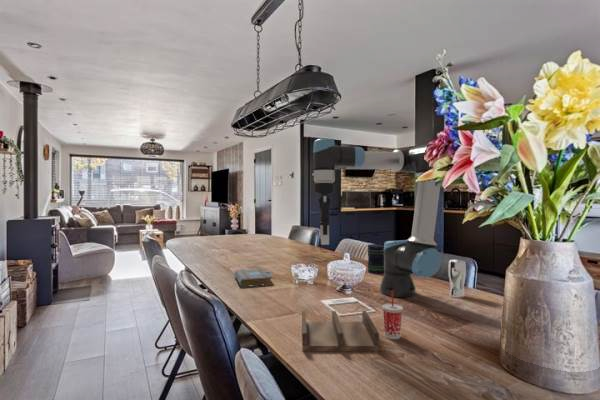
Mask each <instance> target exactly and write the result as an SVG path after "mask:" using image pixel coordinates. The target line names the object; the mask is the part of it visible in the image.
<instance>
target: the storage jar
mask: <svg viewBox="0 0 600 400" xmlns="http://www.w3.org/2000/svg"><path fill="white" fill-rule="evenodd" d="M367 257H368V258H367V273H369V274H372V273H373V275H384V274H383V273H384V244H378V243H377V244H376V243H375V244H374V243H373V244H372V243H371V244H368V245H367Z"/></svg>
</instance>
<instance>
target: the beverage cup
mask: <svg viewBox="0 0 600 400" xmlns="http://www.w3.org/2000/svg"><path fill="white" fill-rule="evenodd" d="M381 308H382V312H383V313H382V315H383V327H384V328H383V330H384V331H383V332H384V337H385V338H387V339H389V340H399V339H400V338H401V330H402V316H403V311H404V309H403V308H404V307H403V306H402V305H400V304H398V303H397V304H396V303H394V297H393V290H392V296H391V303H384V304H382V306H381Z"/></svg>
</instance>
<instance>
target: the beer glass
mask: <svg viewBox="0 0 600 400" xmlns="http://www.w3.org/2000/svg"><path fill="white" fill-rule="evenodd" d="M466 264H467V263H466V260H464V259H459V258H458V259H456V258H455V259H453V258H452V259H448V267H447V270H448V271H447V274H448V275H447V276H448V279H449V281H448V282H449V293H448V295H449V296H450V297H452V298H460V299H462V298H463V299H464V298H465V296H466V295H465V294H466V293H465V287H464V286H465V282H466V278H467V277H466V276H467V265H466Z"/></svg>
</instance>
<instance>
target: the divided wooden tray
mask: <svg viewBox="0 0 600 400" xmlns="http://www.w3.org/2000/svg"><path fill="white" fill-rule="evenodd" d="M336 311H337V310H335V311H332V310H331V321H307V312H306V311H305V310H302V311H301V338H302V339H301V340H302V341H301V343H302V348H301V350H302V352H380V351H379V350H380V348H379V347H380V345H379V342H380V337H379V335H380V334H379V331H378V329H377V327H376V326H375V324H374V322H373V321H372V319H371V317H370V315H369V313H367V312H366V310H362V311H361V312H362V314H361V315H362V317H361V319H362V320H361V321H340V319H339V316H338V315H337V313H336Z"/></svg>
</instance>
